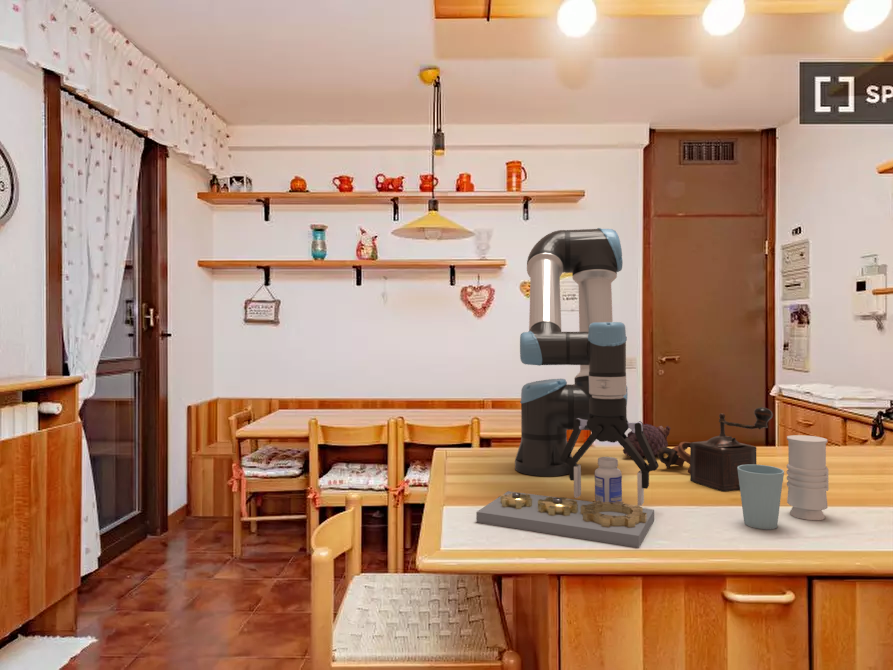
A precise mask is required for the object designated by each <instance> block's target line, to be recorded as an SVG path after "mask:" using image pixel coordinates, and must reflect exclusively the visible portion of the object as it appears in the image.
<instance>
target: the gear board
mask: <svg viewBox="0 0 893 670" xmlns="http://www.w3.org/2000/svg"><path fill="white" fill-rule="evenodd" d="M515 492H517V491H509V490H508V491H506V492H505V493H503V494H502V495H508V494H511V493H515ZM517 493H520V494H523V495H524V494H528V495H530V498H532V506H531V507H527V506H526V507H522V509H516V508H513V507H503V506H502V503H501V497H500V496H499V497H497V498H495V499H494V500H492V501H490V502H489V503H488V504H486V505H485V506H484V507H482V508H480V509H479V510H477V511H476V523H478V524H485V525H493V526H498V527H504V528H505V527H506V528H511V529H515V530H516V529H518V530H522V531H530V532H537V533H543V534H548V535H554V536H562V537H568V538H569V537H570V538H575V539H581V540H588V541H593V542H601V543H606V544H614V545H620V546H626V547H631V548H637V549H639V548H640V547H641V544H642V543H643V540H644V539H645V537H646V535H647V534H648V532H649V530H650V529H651V527H652V525H653V523H654V521H655V509H651V508H644V507H642V508H643V513H647V521H646V523H642V522H640V523H638V524H635V527H630V528H628V527H626V526H610V527H604V526H602V524H598V523H595V522H592V521H590V522H586V521H585V520H583V514H581V506H582V505H588V504H592V503H593V501H589V500H588V501H587V500H580V499H579V500H578V499H572V498H567V499H568V500H575V501H577V504H578V512H577V513H570V515H568V516H564V515H557V514H556V515H555V516H553V515H548V513H546V512H543V513H541V512H539V511H538V500H539V499H542V500H545V499H546V497H552V498H559V497H557V496H549V495H540V494H534V493H525V492H517ZM599 513H601V514H604V515H612V516H625V515H628V514H625V513H621V512H613V511H605V512H599Z"/></svg>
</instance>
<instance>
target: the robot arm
mask: <svg viewBox="0 0 893 670" xmlns="http://www.w3.org/2000/svg"><path fill="white" fill-rule="evenodd" d="M622 269H623V252H622V244H621V240H620V236H619V234H618V233H617V231H616V230H614V229H613V228H601V227H598V228H589V229H588V228H587V229H584V228H583V229H560V230H559V229H558V230H554V231H551V232H549V233H547V234H546V235H545V236H542V237H541V238H540V239H539V240H538V241H537V242H536V244H534V246H533V248H532V249H531V251H530V252H529V254H528V256H527V260H526V271H527V275H528V276H529V278H530V279H529V280H530V284H529V286H530V289H529V322H528V323H529V324H528V325H529V326H528V329H529V330H528V331H526V332H525V331H524V332H522V333H520V336H519V358H520V362H521V363H522V364H523V365H528V366H529V365H531V366H566V365H567V366H580V370H579V372H578V373H577V375H576V376H574V384H568V382H567V381H566V379H565V378H551V379H550V378H549V379H542V380H536V381H531V382H527V383H526V384H524V385H522V387H521V394H520V404H521V406H520V408H521V410H520V411H521V412H520V414H521V415H520V418H521V419H520V421H521V423H520V426H521V429H520V430H521V439H520V443H519V447H518V450H517V452H516V456H515V458H514V459H515V460H514V470H515V471H516V472H518V473H521V474H525V475H529V476H534V477H535V476H536V477H558V476H565V475H569V477H568V478H569V480H570V481H571V482H573V497H574V498H577V499H578V498H579V497H580V496H582V468H581V466H582V464H579V463H578V462H579V461H580V460H581V459H582V457H583V456H584V455H585V454H586V452H587V451H588V450H589V448H591V446H592V445H593V444H594V442H596V441H599V442H602V443H603V442H608V443H613V444H614V443H616V442H618V444H619V445H620V446H621V447H622V448H623V449H625V450H626V452H627V453H628V454H629V456H628V457H629V458H631V460H632V461H633V462H634V464H635V465H636V467H637V468H638V469H639V471H638V472H637V475H636V478H637V482H636V483H637V484H636V485H637V506H640V507H642V506H643V504H644V502H645V495H644V494H645V489H646V490H647V489H648V487H650V472H653V471H654V472H655V471H657V469H658V468H659V462H658V461H657V458H656V455H654V454H653V452H652V450H651V447H650V445H649V443H648V441H647V439H646V436H645V434H644V431H643V425H644V423H643V422H642V421H637V422H629V421H628V416H627V413H628V411H627V406H628V386H627V371H626V370H627V367H626V366H627V365H626V363H627V362H626V361H627V340H628V339H627V334H626V332H627V331H626V325H625V323H623V322H622V321H621V322H620V321H614V320H613V297H612V295H613V293H612V283H613V281H615V280H616V279H617V277H618V276H617V275H618V273H619V272H621V271H622ZM563 273H565V274H566V273H567V274H568V273H569V274H571V273H572V281H574V282H575V283H576V284H577V285H578V318H579V319H578V323H579V325H578V327H579V328H578V329H579V331H562V309H561V305H562V304H561V282H560V281H561V278H560V277H562V274H563ZM628 429H630V430H631V431H632V432H633V433H635V434H636V438H637V440H638V442H639V444H640V446H641V449H642V451H643V453H644V455H645V456H644V458H645V459H646V460H645V459H644V458H643V457H641V455H640V454H639V453H638V451H637V450H636V449H635V447H634V446H633V445H632V444H631V442H630V441H629V439H628V436H627V434H626V432H627V430H628ZM570 430H571V431H572V432H571V434H570V436H569V438H567V431H570ZM582 431H590V432H591V433H590V434H589V436H588V437H587V438H586V440H585V441H584V442H583V443H582V444H581V446H580V447H579V448H578V450H577V451H576V452H575V453H574V455H572V452H573V450H574V449H575V446H576V444H577V441H578V439H579V437H580V435H581V432H582Z"/></svg>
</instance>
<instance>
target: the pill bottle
mask: <svg viewBox="0 0 893 670" xmlns="http://www.w3.org/2000/svg"><path fill="white" fill-rule="evenodd" d="M618 463H619V461H618V458H616V457H613V456H600V457H598V458H597V466H598V467H597V468H596V469H595V470H594V497H595V498H594V501H601V502H616V501H621V502H623V491H622V489H623V484H622V482H623V481H622V479H623V477H622V471H621V470H620V469H619V468H618V466H619V464H618Z"/></svg>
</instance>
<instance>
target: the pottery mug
mask: <svg viewBox="0 0 893 670" xmlns="http://www.w3.org/2000/svg"><path fill="white" fill-rule="evenodd" d="M690 444H691V441H681V442H679V445H675V446H673V448H670V447H668V446H667V447H662V448H660V449H659V450H658V452H657V456H656V457H657V458H658V460H659V461H660V462H661V463H662V464H664V466H665V467H666V469H670V468H671V466H673V465H674V466H679V467H683V466H684V463H687V464H688V465H689V467H688V469H687V473H688V474H689V475H690V453H688V452H686V450H687V449H688V448H690ZM665 454H666V455H667V456H666V457H665V456H664V455H665Z"/></svg>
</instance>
